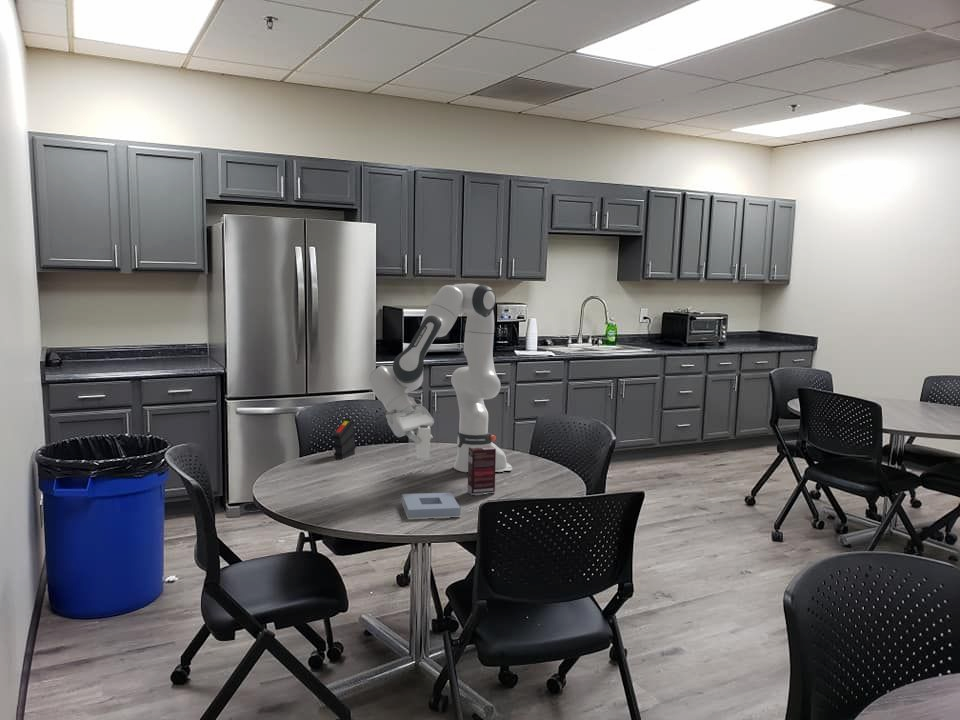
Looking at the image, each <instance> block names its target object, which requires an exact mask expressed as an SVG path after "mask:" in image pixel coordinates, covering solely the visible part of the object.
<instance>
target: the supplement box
mask: <svg viewBox="0 0 960 720" xmlns="http://www.w3.org/2000/svg"><path fill="white" fill-rule="evenodd" d="M495 463H496V449H495V448H494V447H492V446H485V447H469V454H468V473H467V493H468V492H469V493H470V494H471V495H470V494H469V493H468V494H469V495H470V496H472V495H475V496H479V495H478V494H484V493H495V492H496V473H495Z"/></svg>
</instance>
